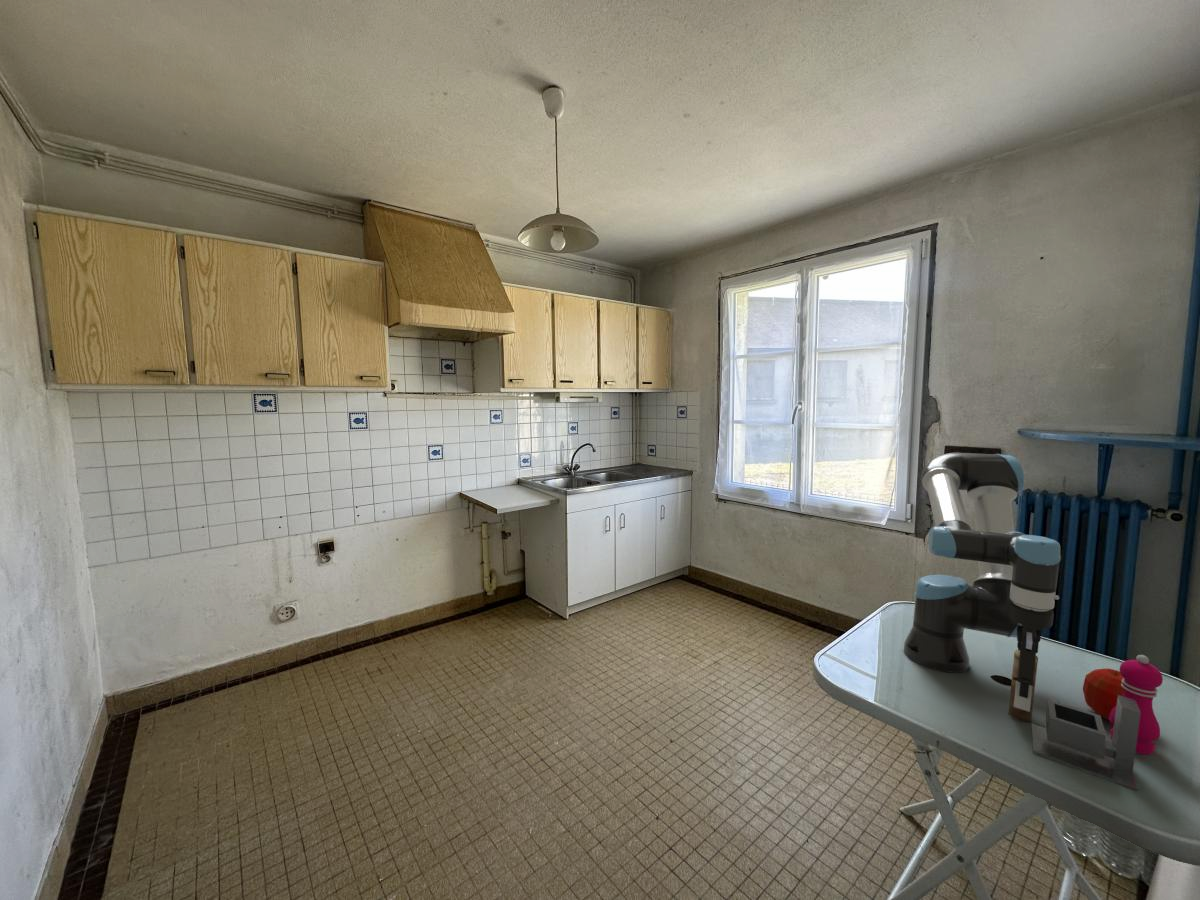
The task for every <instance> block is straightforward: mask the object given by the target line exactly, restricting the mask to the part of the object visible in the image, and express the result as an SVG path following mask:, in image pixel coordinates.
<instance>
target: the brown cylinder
mask: <svg viewBox="0 0 1200 900" xmlns="http://www.w3.org/2000/svg"><path fill="white" fill-rule="evenodd" d="M1019 656H1020V650H1018V649H1017V650H1014V651H1013V664H1012V674H1011V684H1010V693H1009V703H1008V704H1009V705H1008V715H1009V716H1010V717H1011V718H1012V719H1014V720H1016V721H1017V722H1022V723H1031V722H1032V719H1033V718H1032V717H1033V709H1034V708H1033V707H1034V698H1035V691H1036V680H1037V672H1038V663H1039V657H1038V656H1037V655H1036V657H1035V668H1034V678H1033V682H1034V685H1033V686H1032V696H1031V705H1030V712H1029V711H1025V710H1022V709H1019V708H1016V707H1014V698H1015V688H1016V680H1013V677H1016V678H1017V676H1018V668H1019Z"/></svg>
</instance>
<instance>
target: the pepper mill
mask: <svg viewBox="0 0 1200 900" xmlns="http://www.w3.org/2000/svg"><path fill="white" fill-rule="evenodd" d="M1135 658H1136V659H1127V660H1124V661H1123V662H1122V663H1121V664H1120V666H1119V672H1120V673H1121V675H1122V676H1123V678H1124V679H1122V683H1121V686H1122V687H1123V688H1124V693H1123V697H1127V698H1130V699H1134V700H1136V702H1137V705H1138V707H1139V710H1140V712H1141V713H1140V721H1139V729H1138V736H1137V744H1136V751H1135V754H1136V753H1137V754H1141V755H1152V754H1154V752H1155V747H1156V745H1155V742H1154V741H1157V740H1159V738H1160V737H1161V727H1160V724H1159V721H1158V720H1157V717H1156V714H1155V712H1154V708H1153V699H1155V698H1156V697H1157V695H1158V694H1157V693H1158V689H1157V688H1158V687H1160V686H1162V685H1163V681H1164V680H1163V679H1164V678H1163V674H1162V672H1161V671H1160V670H1159V669H1158V668H1157V667H1156V666H1155V665H1153V664H1151V663H1150V659H1149V657H1147V656H1146V655H1144V654H1138V655H1137V656H1136V657H1135ZM1116 706H1117V705H1116ZM1116 706H1115V707H1114V708H1113V709H1112V711H1111V713H1110V716H1109V720H1108V721H1109V722H1110V724H1111V725H1112V726H1113V727H1112V728H1111V729H1110V735H1109V736H1110V739H1111V740H1112V738H1113V730H1114V722H1115V714H1116Z"/></svg>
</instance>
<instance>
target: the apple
mask: <svg viewBox="0 0 1200 900" xmlns="http://www.w3.org/2000/svg"><path fill="white" fill-rule="evenodd" d="M1122 679H1124V678H1123V676H1122V675H1121V673H1120V670H1117V669H1116V670H1115V669H1113V668H1098V669H1093V670H1092V671H1090V672H1088V673H1087V674H1085V677H1084V682H1083V684H1082V693H1083V696H1084V701H1085V703H1086V705H1087V706H1088V707H1089V708H1090V709H1091V710H1093V711H1094V712H1095V714H1097V715H1101V718H1104V719H1106V720H1108V721H1110V720H1109V716H1110V713H1111V711H1112V709H1113V708H1114V707H1115V706H1116V705H1117V698H1118V695H1119V696H1123V693H1124V688H1123V687H1122V686H1121V683H1122Z"/></svg>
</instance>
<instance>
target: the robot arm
mask: <svg viewBox="0 0 1200 900" xmlns="http://www.w3.org/2000/svg"><path fill="white" fill-rule="evenodd" d="M1024 479H1025V474H1024V469H1023V466H1022V464H1021V462H1020V460H1019V459H1018V458H1016V457H1015V456H1013V455H1009V454H1001V453H993V454H992V453H975V452H974V453H971V452H957V451H955V452H949V453H943V454H941V455H939V456H937V457H935V458H933V459H932V460H930V461H929V462H928V463H927V464H926V466H925V467H924V468H923V470H922V474H921V483H922V487H923V488H924V490H925V491H926V492H927V494H928V498H929V502H930V508H931V512H932V515H933V521H934V526H932V527H931V528H930V529H929V532H928V550H929V552H930V553H931V555H933V556H937V557H944V558H946V559H956V560H957V559H959V560H966V561H972V562H973V561H975V562H977V563H978V575H979V576H978V577H977V578H975V579H974V580H973V581H972V585H969V584H968V581H967V580H965V579H964V578H962V577H959V576H957V577H956V576H954V575H948V574H947V575H946V574H929V575H925V576H922V577H920V578H918V579H917V582H916V585H915V591H914V596H915V597H914V607H913V610H914V611H913V619H912V620H913V622H912V627H911V628H910V630H909V633H908V634H907V636H906V639H905V640H904V646H903V652H904V653H905V655H906V656H907V657H908V658H909V659H911V660H912V661H914V662H916V663H918V664H920V665H922V666H924V667H927V668H929V669H933V670H937V671H941V672H948V673H962V672H966V671H967V670H968V669H969V665H970V658H969V657H970V656H969V654H968V651H967V650H968V649H967V647H966V642H965V640H964V630H965V629H966V630H972V631H976V632H977V631H978V632H982V633H987V634H993V635H999V636H1004V637H1007V638H1016V641H1017V645H1016V646H1017V647H1016V648H1017V650H1020V656H1019V668H1018V676H1017V678H1016V677H1013V680H1016V688H1015V698H1014V707H1016V708H1019V709H1022V710H1025V711H1029V712H1030V705H1031V696H1032V686H1033V685H1034V682H1033V678H1034V668H1035V657H1036V656H1037V654H1038V653H1039V644H1040V642H1041V637H1042V635H1041V630H1040V629H1050V628H1051V627H1053V624H1054V614H1055V612H1054V611H1053V610H1054V608H1055V602H1056V601H1055V600H1058V601H1059V599H1060V596H1059V595H1056V591H1057V587H1058V580H1059V579H1058V578H1059V571H1060V562H1061V559H1062V555H1061V545H1060V542H1059V541H1057V540H1055V539H1053V538H1049V537H1046V536H1042V535H1034V534H1025V533H1023V532H1020V531H1015V527H1014V524H1015V523H1014V516H1013V514H1014V513H1013V507H1012V501H1014V500H1015V499H1016V498H1018V495H1019V494H1021V493H1022V492H1023V490H1024V487H1025V486H1024V485H1025V481H1024ZM960 491H966V493H967V498H968V499H970V500H971V502H973V505H974V507H973V508H974V518H975V530H974V529H973V530H972V527H971V523H970V521H969V518H968V514H967V511H966V508H965V505H964V501H963V497H962V495H961V492H960Z"/></svg>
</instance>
